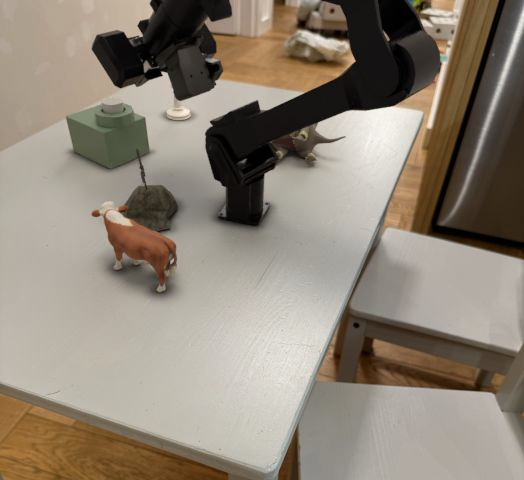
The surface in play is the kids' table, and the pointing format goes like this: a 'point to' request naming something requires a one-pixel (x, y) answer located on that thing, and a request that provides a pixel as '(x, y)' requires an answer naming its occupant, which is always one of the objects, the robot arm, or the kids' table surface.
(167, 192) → the sword in stone
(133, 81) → the robot arm
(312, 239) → the kids' table surface
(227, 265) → the kids' table surface
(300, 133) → the figurine
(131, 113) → the green push button box
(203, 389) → the kids' table surface
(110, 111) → the flush button
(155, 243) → the bull figurine
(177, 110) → the chess piece
